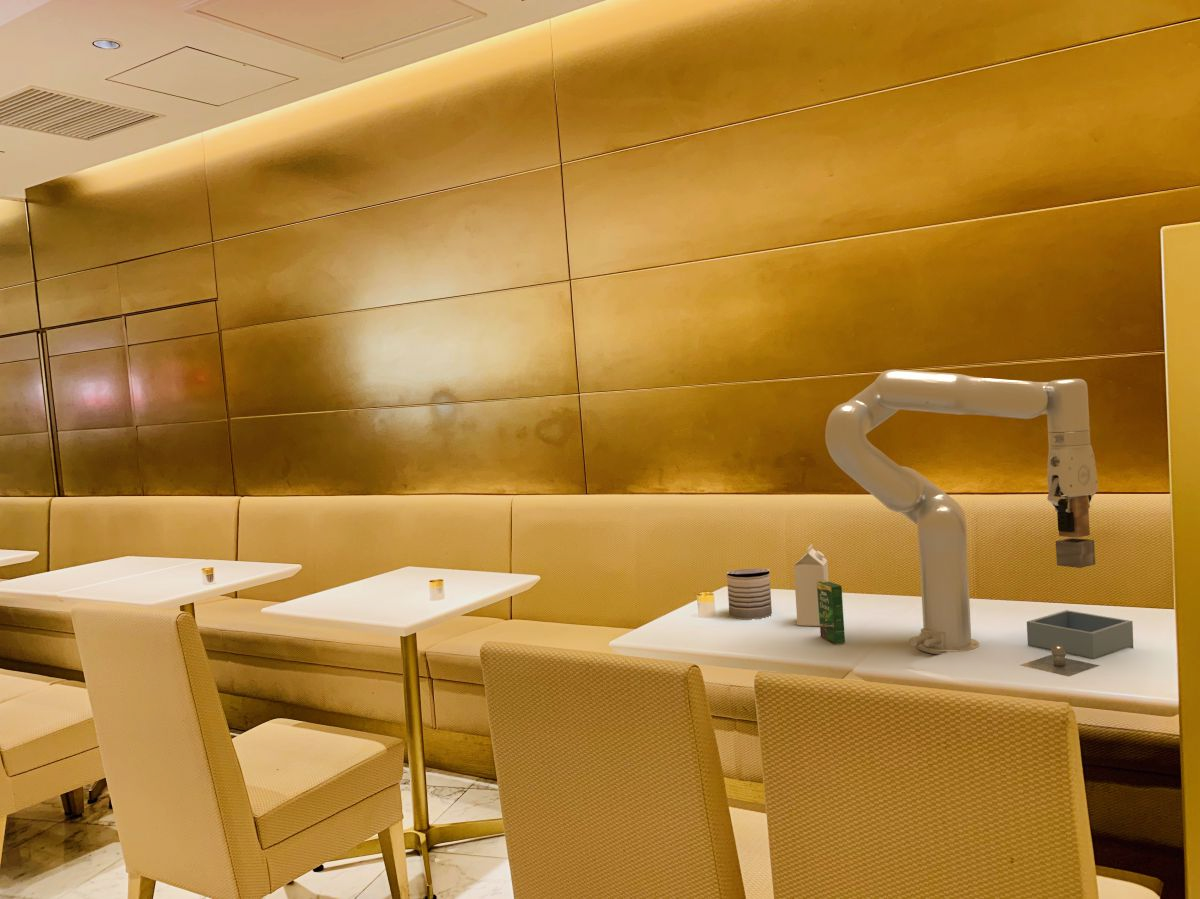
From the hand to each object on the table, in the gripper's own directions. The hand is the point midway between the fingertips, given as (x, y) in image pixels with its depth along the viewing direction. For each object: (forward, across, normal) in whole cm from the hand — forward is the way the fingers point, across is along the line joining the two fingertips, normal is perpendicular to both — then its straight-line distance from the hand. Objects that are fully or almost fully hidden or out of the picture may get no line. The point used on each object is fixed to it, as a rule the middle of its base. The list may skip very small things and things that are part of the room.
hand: (1073, 529), depth 183 cm
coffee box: (+25, -29, +41) cm, 56 cm away
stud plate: (+25, -13, -5) cm, 29 cm away
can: (+25, -27, +73) cm, 82 cm away
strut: (+7, 0, 0) cm, 7 cm away
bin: (+25, +1, +1) cm, 25 cm away
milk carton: (+25, -21, +55) cm, 64 cm away
